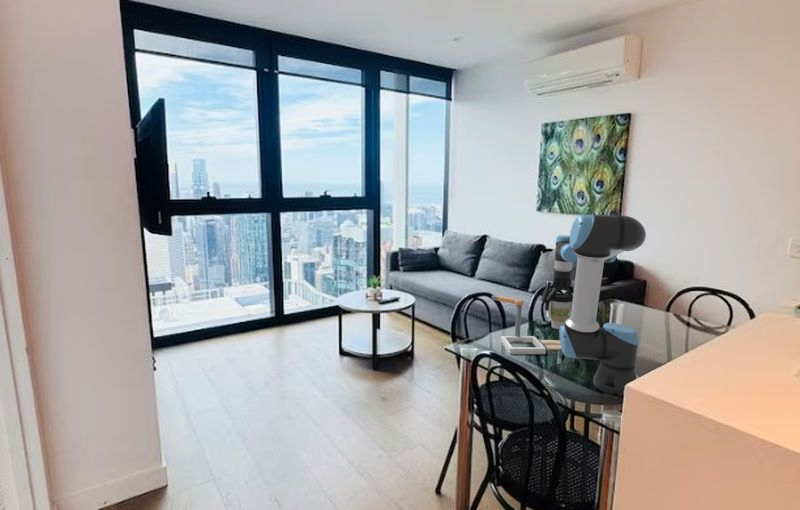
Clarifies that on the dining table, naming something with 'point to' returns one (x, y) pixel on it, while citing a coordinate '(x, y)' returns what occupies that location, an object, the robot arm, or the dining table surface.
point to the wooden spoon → (507, 300)
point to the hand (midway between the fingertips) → (559, 317)
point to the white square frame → (522, 339)
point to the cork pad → (552, 345)
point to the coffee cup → (560, 309)
